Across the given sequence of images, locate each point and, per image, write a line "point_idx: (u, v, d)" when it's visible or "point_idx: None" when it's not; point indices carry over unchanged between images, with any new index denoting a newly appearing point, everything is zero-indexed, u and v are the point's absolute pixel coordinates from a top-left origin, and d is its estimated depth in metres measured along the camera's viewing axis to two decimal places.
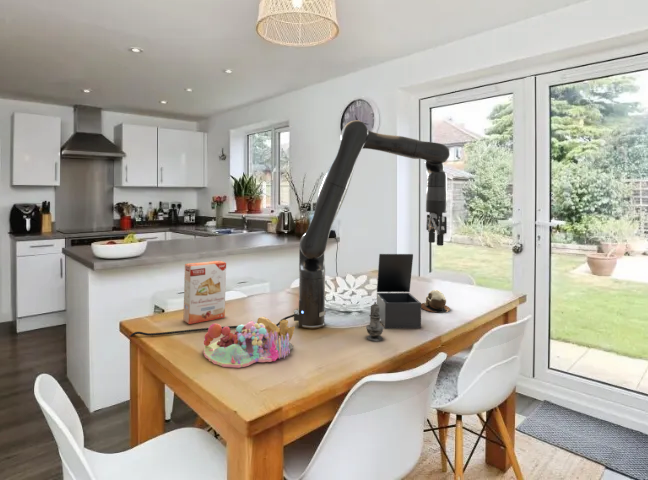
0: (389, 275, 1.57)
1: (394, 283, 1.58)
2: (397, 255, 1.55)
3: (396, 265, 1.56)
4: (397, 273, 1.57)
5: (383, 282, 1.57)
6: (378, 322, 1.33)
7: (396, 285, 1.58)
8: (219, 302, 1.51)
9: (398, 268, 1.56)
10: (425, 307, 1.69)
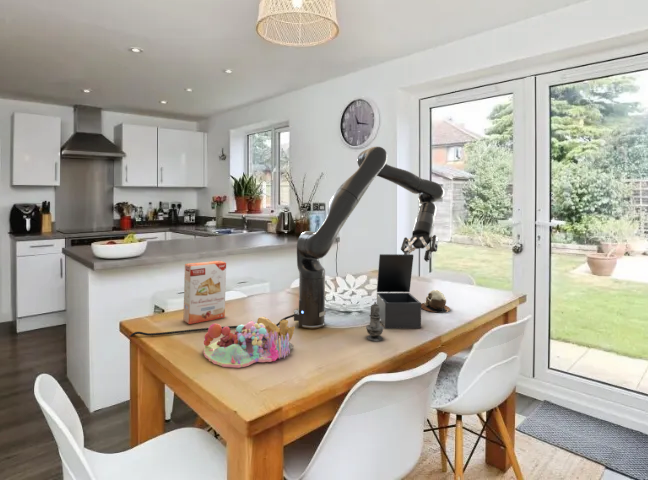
0: (389, 275, 1.57)
1: (394, 283, 1.58)
2: (397, 256, 1.54)
3: (396, 265, 1.55)
4: (397, 273, 1.56)
5: (383, 282, 1.57)
6: (378, 322, 1.33)
7: (396, 285, 1.58)
8: (219, 302, 1.51)
9: (398, 269, 1.56)
10: (425, 307, 1.69)
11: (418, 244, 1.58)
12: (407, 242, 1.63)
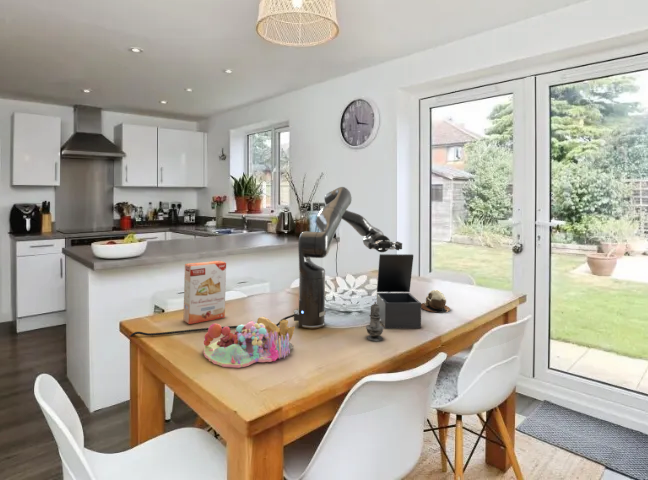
0: (389, 275, 1.57)
1: (394, 283, 1.58)
2: (397, 256, 1.54)
3: (396, 265, 1.55)
4: (397, 273, 1.56)
5: (383, 282, 1.57)
6: (378, 322, 1.33)
7: (396, 285, 1.58)
8: (219, 302, 1.51)
9: (398, 269, 1.56)
10: (425, 307, 1.69)
11: (385, 243, 1.75)
12: (371, 243, 1.77)
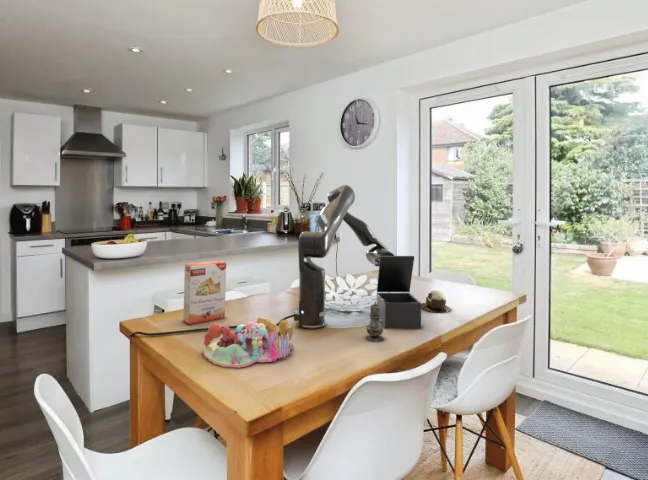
0: (390, 276, 1.56)
1: (394, 283, 1.57)
2: (398, 257, 1.53)
3: (397, 266, 1.55)
4: (398, 274, 1.56)
5: (383, 283, 1.57)
6: (378, 322, 1.33)
7: (396, 286, 1.58)
8: (219, 302, 1.51)
9: (399, 270, 1.55)
10: (425, 307, 1.69)
11: None
12: None
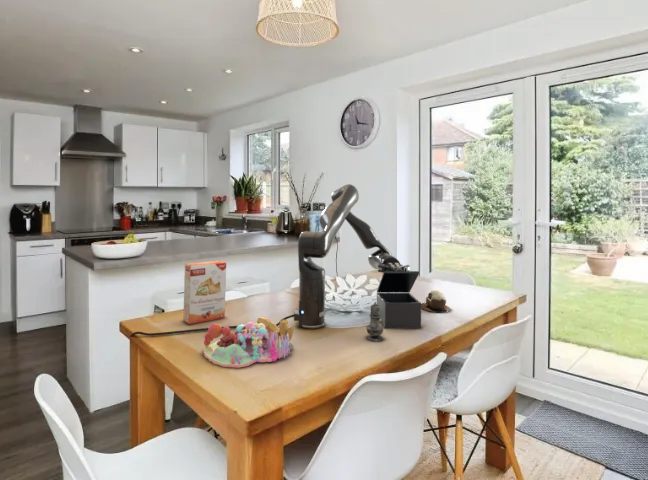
0: (391, 284, 1.53)
1: (395, 288, 1.56)
2: (402, 273, 1.47)
3: (400, 278, 1.50)
4: (400, 283, 1.53)
5: (384, 287, 1.55)
6: (378, 322, 1.33)
7: (397, 289, 1.57)
8: (219, 302, 1.51)
9: (401, 280, 1.51)
10: (425, 307, 1.69)
11: (394, 266, 1.57)
12: None
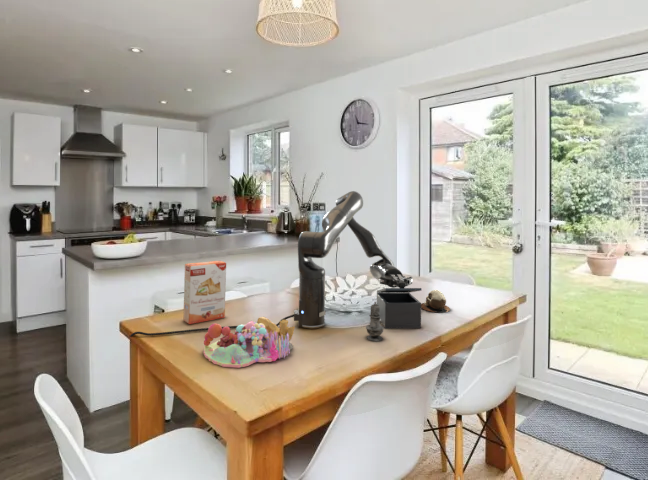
0: None
1: None
2: (404, 290, 1.44)
3: None
4: (400, 291, 1.51)
5: None
6: (378, 322, 1.33)
7: None
8: (219, 302, 1.51)
9: (403, 291, 1.50)
10: (425, 307, 1.69)
11: (397, 278, 1.54)
12: None
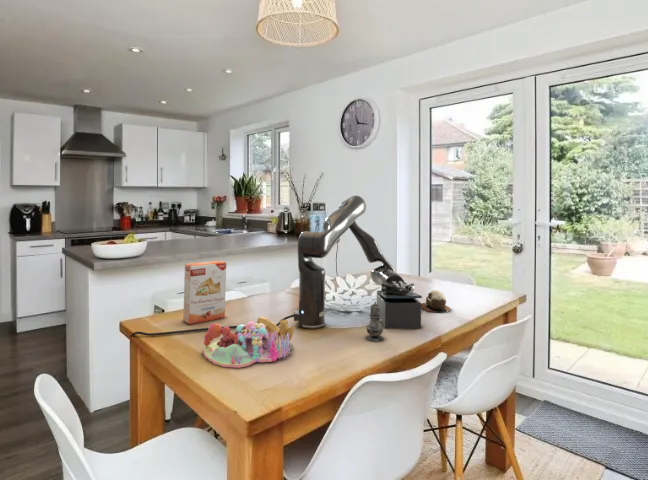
0: None
1: None
2: (404, 297, 1.44)
3: None
4: None
5: None
6: (378, 322, 1.33)
7: None
8: (219, 302, 1.51)
9: None
10: (425, 307, 1.69)
11: (399, 285, 1.51)
12: None
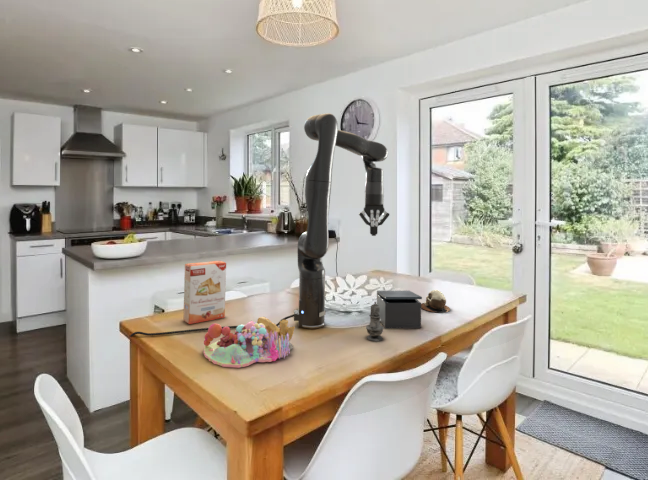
0: None
1: None
2: (404, 298, 1.44)
3: None
4: None
5: None
6: (378, 322, 1.33)
7: None
8: (219, 302, 1.51)
9: None
10: (425, 307, 1.69)
11: (374, 216, 1.67)
12: (364, 215, 1.68)
